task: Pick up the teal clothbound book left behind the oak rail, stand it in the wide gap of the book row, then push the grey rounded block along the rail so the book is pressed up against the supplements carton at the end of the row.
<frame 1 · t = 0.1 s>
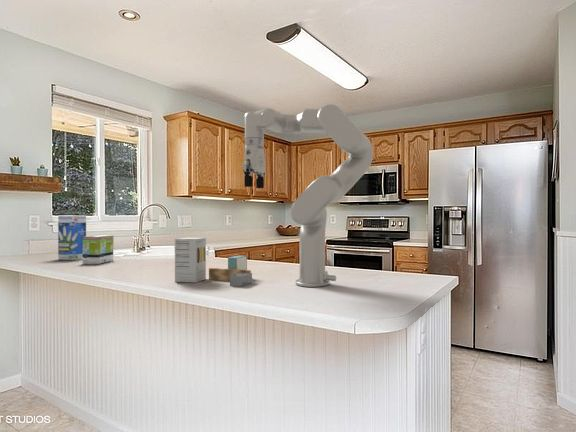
hand: (254, 187, 151), 37 cm above the countertop, tool pointing down, fingers open, 9 cm apart
rail: (229, 280, 150), on the countertop
string lights box: (72, 259, 225), on the countertop
grey rounded block: (241, 285, 142), on the countertop
tea box: (98, 262, 210), on the countertop
book: (237, 278, 154), on the countertop
supplement box: (190, 281, 151), on the countertop
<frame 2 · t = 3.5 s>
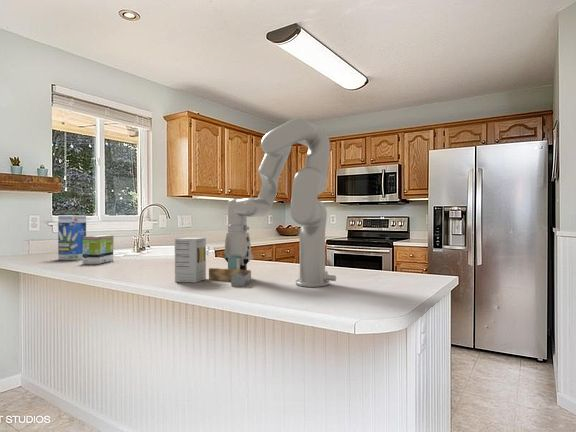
hand: (237, 274, 154), 2 cm above the countertop, tool pointing down, fingers closed on book, 4 cm apart
book: (237, 278, 154), on the countertop, touching gripper
when the fingers open (3 cm above the countertop, at t = 8.3 s): book drops 1 cm, on the countertop.
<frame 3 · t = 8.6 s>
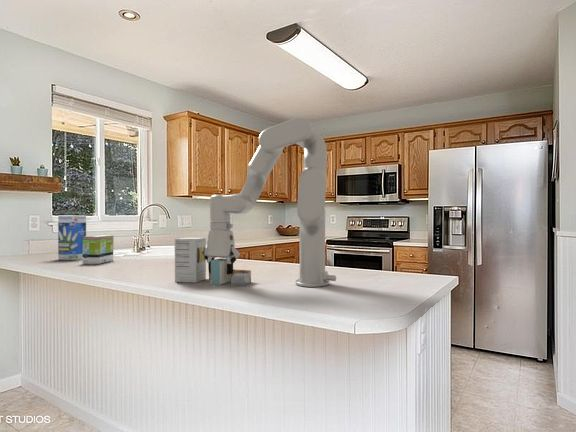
hand: (220, 273, 146), 4 cm above the countertop, tool pointing down, fingers open, 7 cm apart
book: (221, 282, 146), on the countertop
everything else where it was.
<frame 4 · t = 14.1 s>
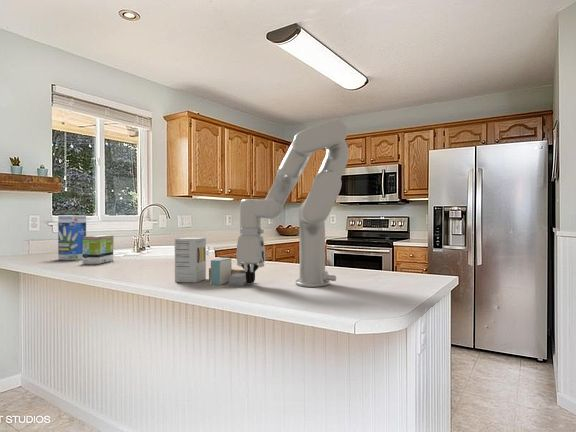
hand: (250, 282, 141), 1 cm above the countertop, tool pointing down, fingers closed
grey rounded block: (238, 285, 142), on the countertop, touching gripper
everything else where it was.
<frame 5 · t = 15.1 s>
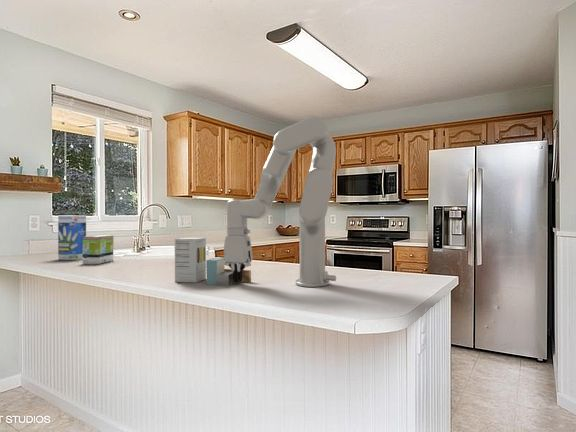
hand: (237, 281, 143), 1 cm above the countertop, tool pointing down, fingers closed
grey rounded block: (226, 283, 144), on the countertop, touching book, gripper
book: (215, 282, 146), on the countertop, touching grey rounded block
everything else where it was.
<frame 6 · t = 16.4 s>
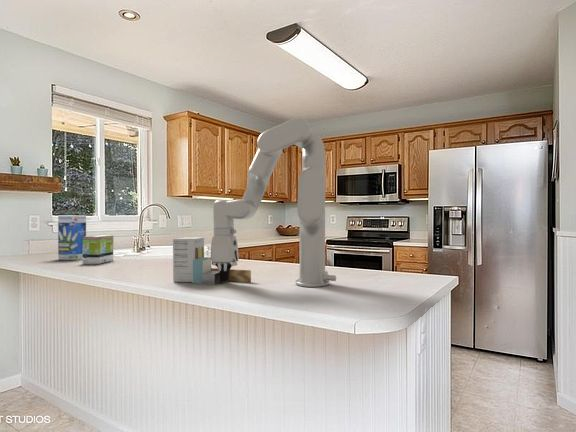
hand: (224, 280, 145), 1 cm above the countertop, tool pointing down, fingers closed
grey rounded block: (212, 282, 146), on the countertop, touching book, gripper
book: (202, 281, 148), on the countertop, touching grey rounded block, supplement box
supplement box: (189, 280, 151), on the countertop, touching book
everything else where it was.
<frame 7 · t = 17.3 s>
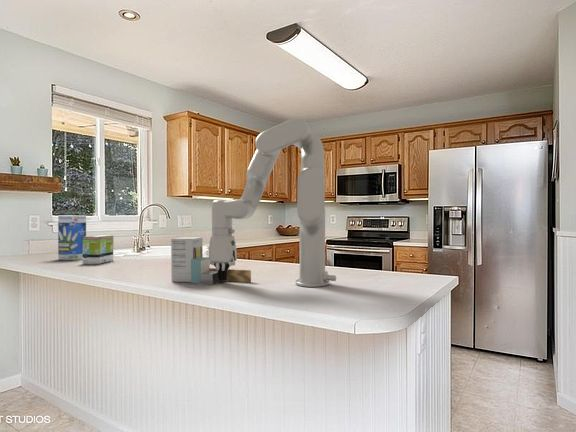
hand: (222, 280, 145), 1 cm above the countertop, tool pointing down, fingers closed
grey rounded block: (210, 282, 146), on the countertop
book: (200, 281, 148), on the countertop, touching supplement box
everything else where it was.
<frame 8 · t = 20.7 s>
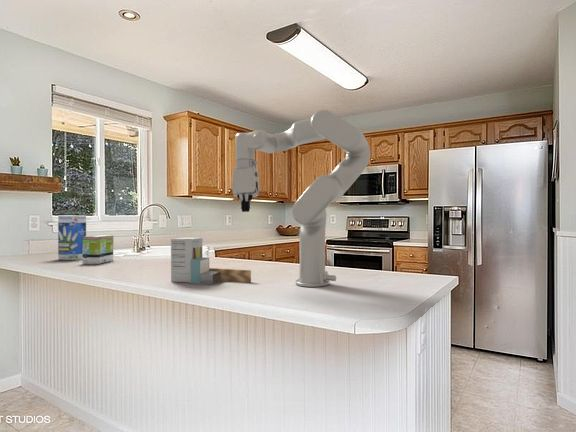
hand: (245, 211, 150), 27 cm above the countertop, tool pointing down, fingers closed
book: (200, 281, 148), on the countertop
supplement box: (187, 280, 152), on the countertop
everything else where it was.
at the end: book 2.0 cm from the target spot, on the countertop; book tilted 0°; grey rounded block inside the target area (1.5 cm from its centre), on the countertop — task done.
